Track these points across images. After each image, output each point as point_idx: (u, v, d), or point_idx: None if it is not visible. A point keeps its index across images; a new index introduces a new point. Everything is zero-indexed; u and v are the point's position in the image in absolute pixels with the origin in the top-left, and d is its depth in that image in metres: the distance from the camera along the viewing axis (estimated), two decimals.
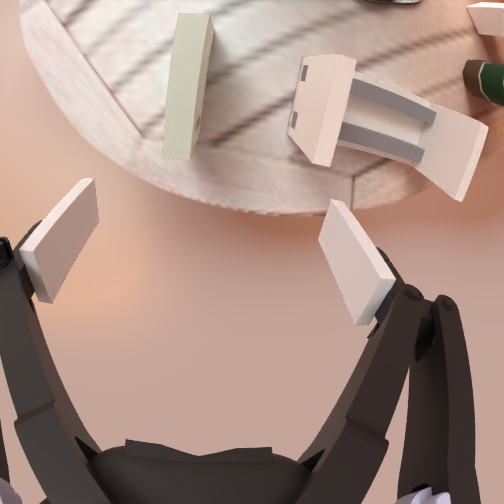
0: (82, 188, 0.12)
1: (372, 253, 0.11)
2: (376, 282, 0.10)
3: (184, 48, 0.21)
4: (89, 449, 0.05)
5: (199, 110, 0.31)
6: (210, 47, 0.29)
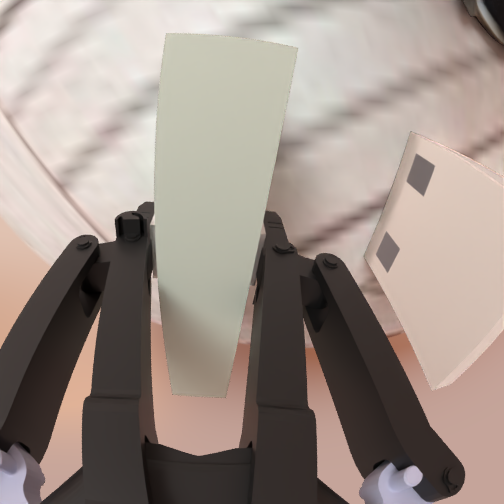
0: None
1: None
2: None
3: (196, 188, 0.07)
4: None
5: None
6: None
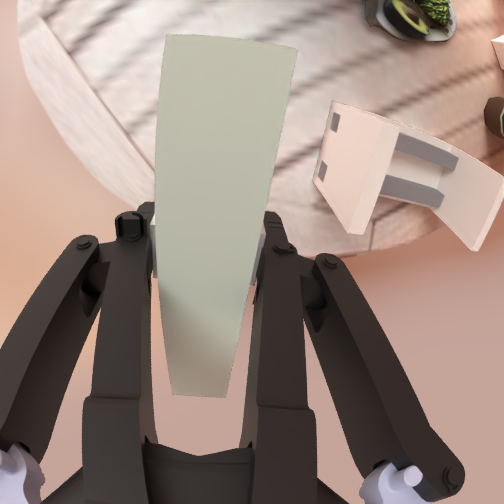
0: None
1: None
2: None
3: (197, 189, 0.07)
4: None
5: None
6: None
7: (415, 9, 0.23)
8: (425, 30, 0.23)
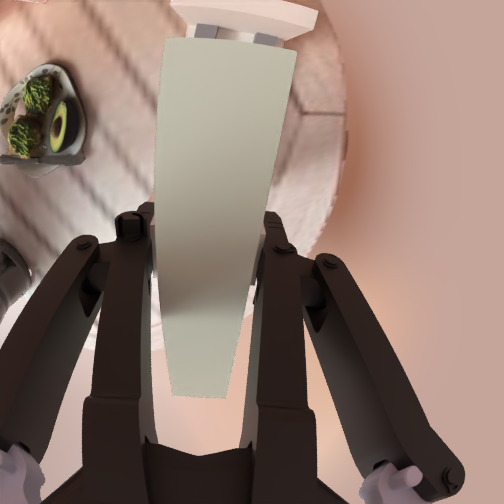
0: None
1: None
2: None
3: (196, 191, 0.07)
4: None
5: None
6: None
7: (51, 114, 0.29)
8: (64, 108, 0.28)
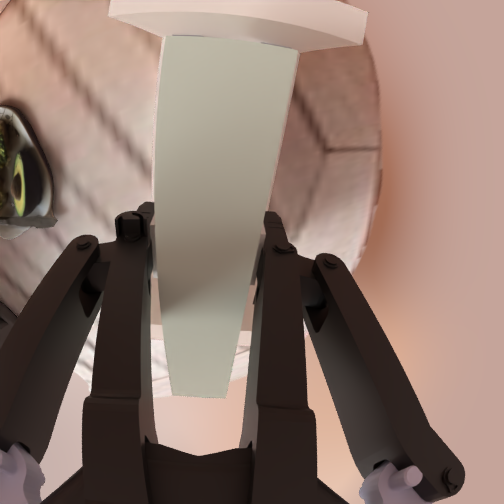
0: None
1: None
2: None
3: (197, 190, 0.07)
4: None
5: None
6: None
7: (11, 168, 0.23)
8: (21, 164, 0.21)
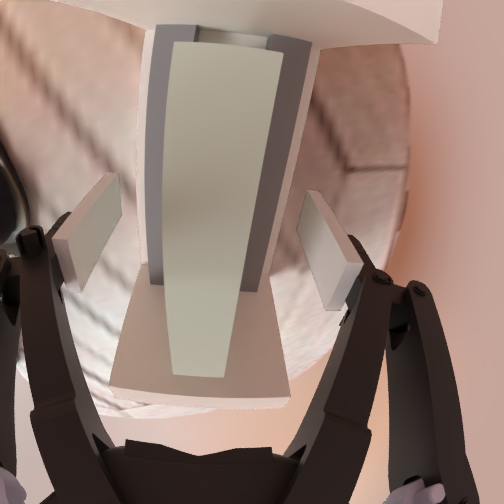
0: (108, 181, 0.13)
1: (341, 239, 0.12)
2: (343, 266, 0.11)
3: (199, 171, 0.08)
4: (103, 446, 0.05)
5: None
6: None
7: None
8: None
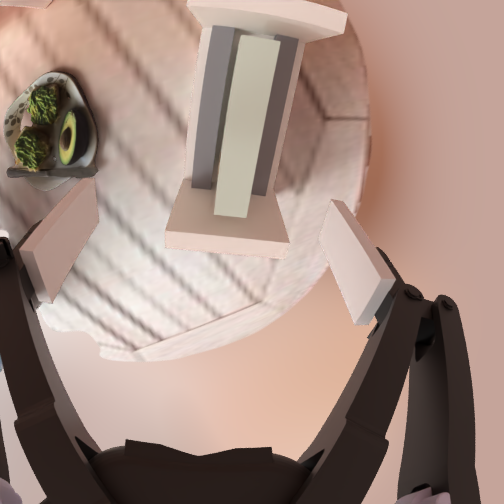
0: (82, 187, 0.12)
1: (372, 253, 0.11)
2: (376, 282, 0.10)
3: (247, 82, 0.19)
4: (89, 449, 0.05)
5: None
6: None
7: (59, 124, 0.29)
8: (72, 119, 0.28)
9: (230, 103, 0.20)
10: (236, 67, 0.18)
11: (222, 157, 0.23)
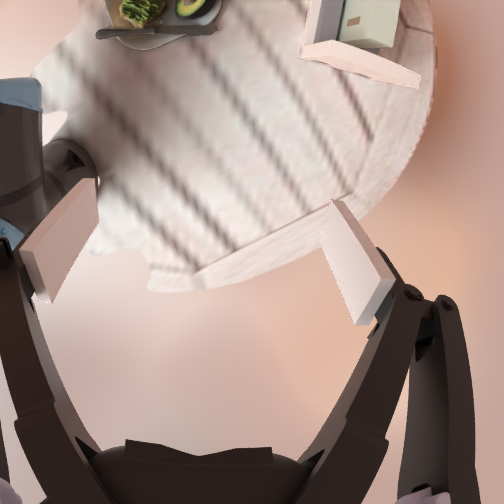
0: (82, 188, 0.12)
1: (372, 253, 0.11)
2: (376, 282, 0.10)
3: None
4: (89, 449, 0.05)
5: None
6: None
7: None
8: None
9: None
10: None
11: (378, 0, 0.19)
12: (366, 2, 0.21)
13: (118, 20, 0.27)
